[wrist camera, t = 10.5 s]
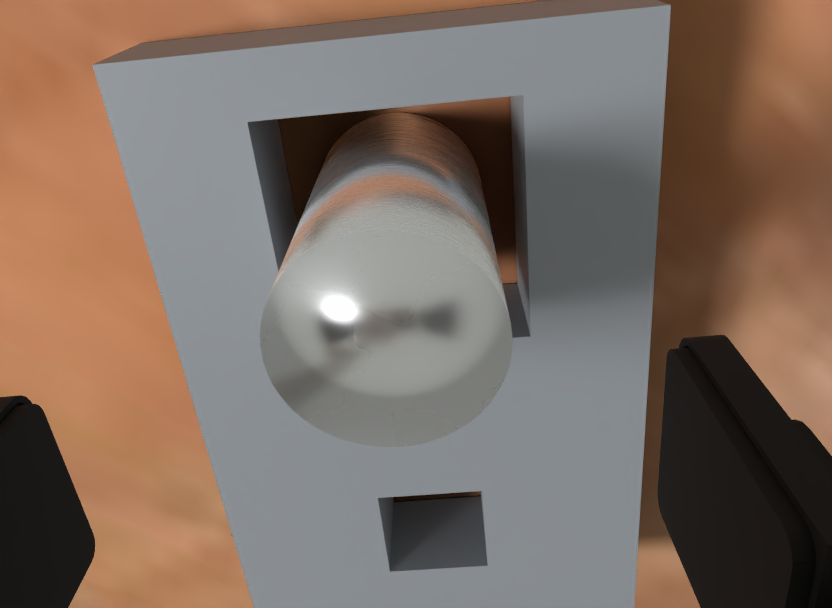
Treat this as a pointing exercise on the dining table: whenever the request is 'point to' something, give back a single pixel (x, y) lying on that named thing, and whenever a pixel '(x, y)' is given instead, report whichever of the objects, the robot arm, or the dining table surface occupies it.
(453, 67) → the grey hole board
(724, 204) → the dining table surface
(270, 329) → the cylinder
